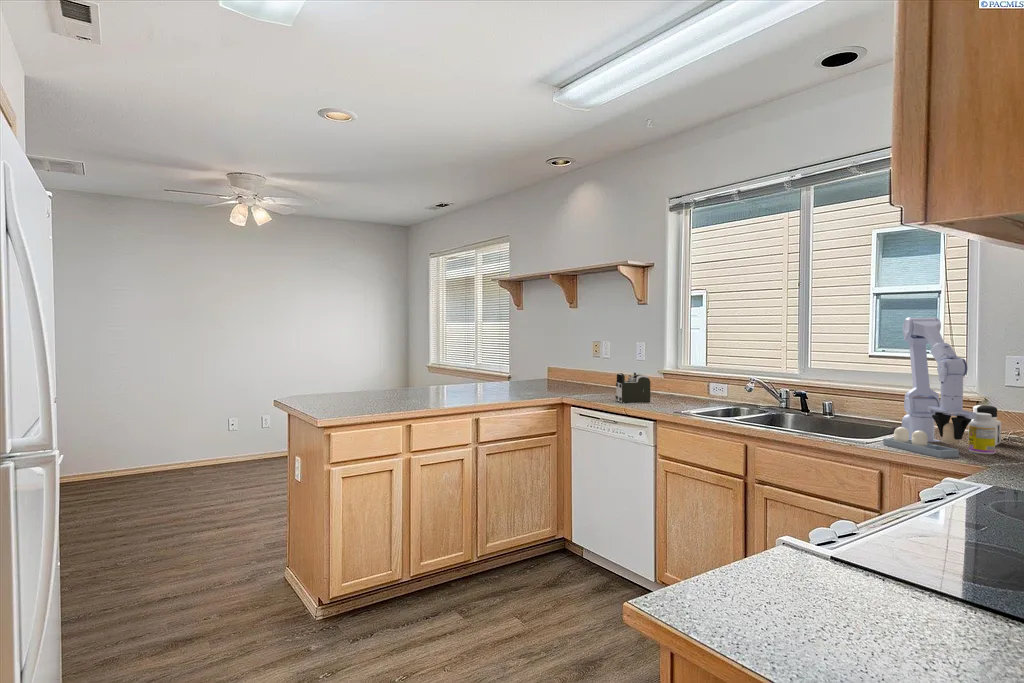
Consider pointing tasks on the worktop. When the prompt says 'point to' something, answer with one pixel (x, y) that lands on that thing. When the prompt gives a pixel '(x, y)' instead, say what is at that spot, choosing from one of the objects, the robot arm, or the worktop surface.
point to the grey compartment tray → (923, 448)
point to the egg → (949, 434)
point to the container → (993, 412)
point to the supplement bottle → (982, 434)
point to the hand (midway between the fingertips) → (950, 437)
